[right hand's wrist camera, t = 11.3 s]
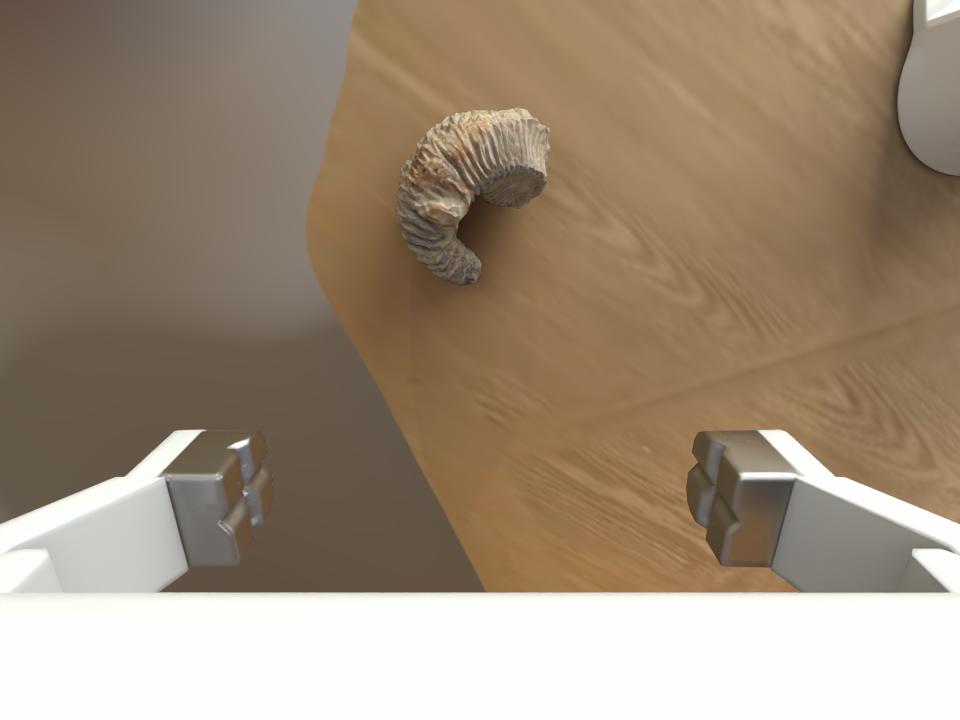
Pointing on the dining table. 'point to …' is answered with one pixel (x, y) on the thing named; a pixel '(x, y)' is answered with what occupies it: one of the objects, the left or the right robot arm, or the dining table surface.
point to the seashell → (467, 182)
